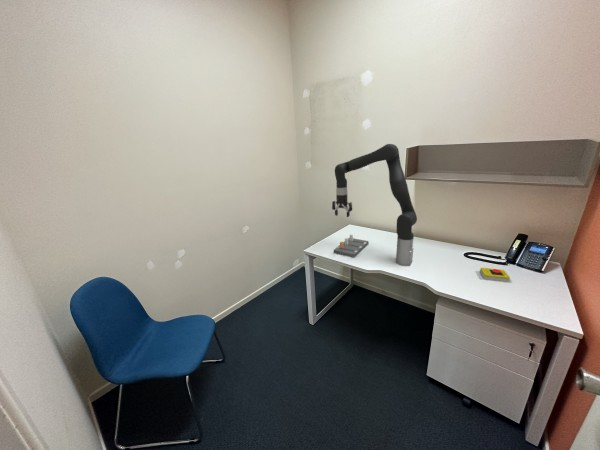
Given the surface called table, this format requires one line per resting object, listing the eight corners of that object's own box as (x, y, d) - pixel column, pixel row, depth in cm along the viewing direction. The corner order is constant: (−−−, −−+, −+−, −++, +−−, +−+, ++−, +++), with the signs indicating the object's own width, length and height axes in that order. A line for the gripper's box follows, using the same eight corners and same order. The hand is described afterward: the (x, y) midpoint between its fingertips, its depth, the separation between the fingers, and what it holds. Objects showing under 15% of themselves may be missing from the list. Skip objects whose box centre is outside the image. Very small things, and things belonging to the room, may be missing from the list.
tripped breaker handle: (343, 247, 181) (343, 242, 179) (342, 248, 180) (342, 242, 178) (340, 247, 182) (340, 241, 181) (339, 248, 181) (339, 242, 179)
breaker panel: (368, 244, 191) (368, 235, 188) (354, 257, 171) (354, 248, 169) (349, 240, 200) (349, 231, 198) (333, 253, 180) (333, 243, 178)
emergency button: (514, 276, 131) (480, 272, 136) (512, 283, 132) (479, 279, 138) (507, 267, 139) (476, 264, 144) (506, 274, 140) (474, 271, 146)
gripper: (353, 193, 169) (353, 215, 175) (335, 191, 177) (335, 213, 183) (349, 195, 164) (349, 218, 169) (330, 194, 172) (330, 216, 177)
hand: (342, 216), depth 176 cm, fingers open, 8 cm apart
